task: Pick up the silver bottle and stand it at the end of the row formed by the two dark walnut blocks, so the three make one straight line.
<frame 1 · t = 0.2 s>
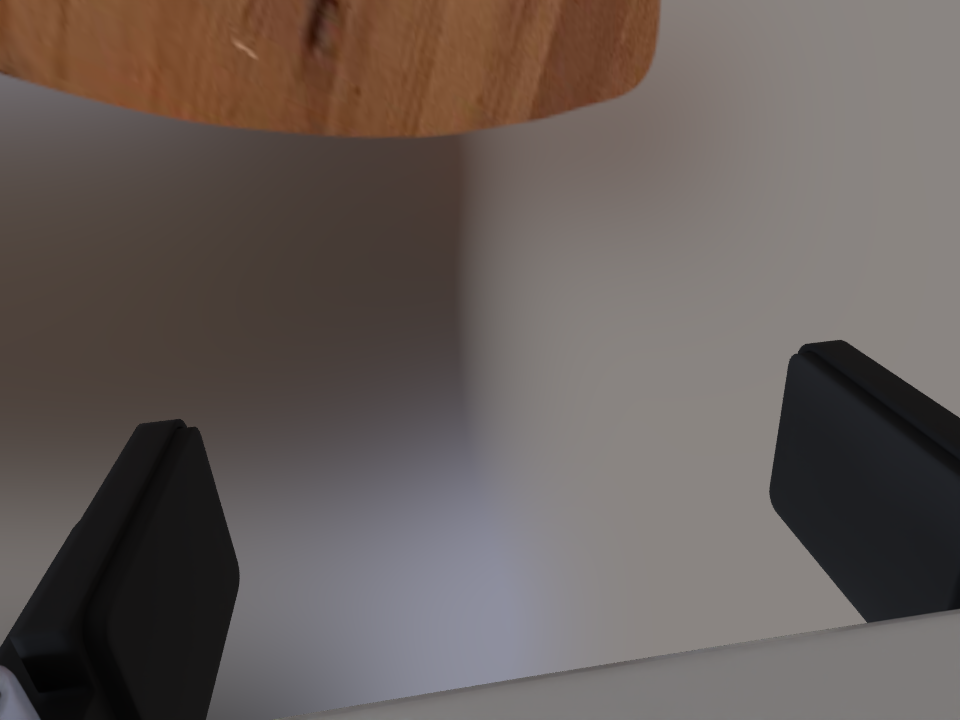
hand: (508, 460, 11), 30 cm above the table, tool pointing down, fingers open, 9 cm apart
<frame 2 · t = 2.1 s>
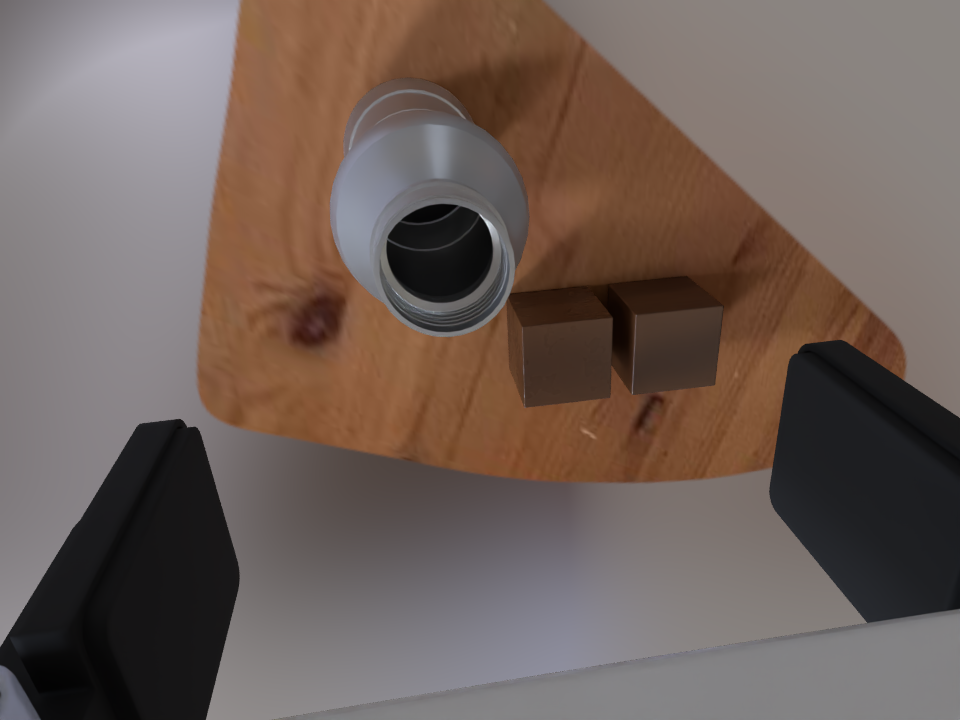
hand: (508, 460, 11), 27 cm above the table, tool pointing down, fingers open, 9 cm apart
silver bottle: (410, 144, 35), on the table
walnut block 1: (547, 328, 40), on the table
walnut block 2: (645, 317, 41), on the table
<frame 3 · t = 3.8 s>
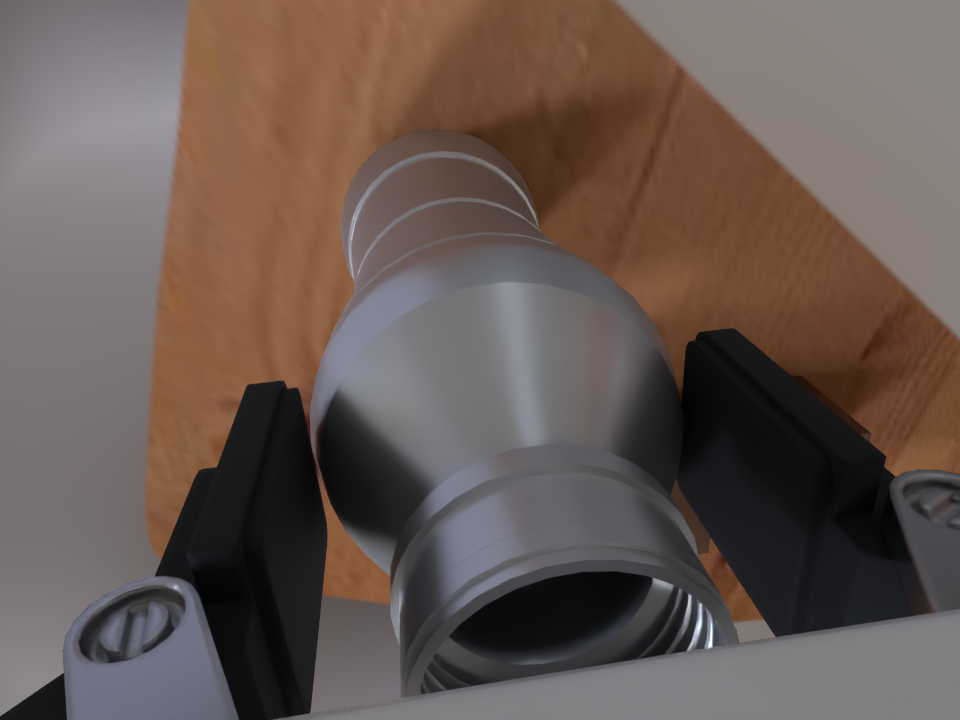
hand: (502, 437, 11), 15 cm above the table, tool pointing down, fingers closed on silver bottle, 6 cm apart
silver bottle: (435, 215, 25), on the table, touching gripper
walnut block 1: (615, 445, 30), on the table
walnut block 2: (743, 428, 31), on the table
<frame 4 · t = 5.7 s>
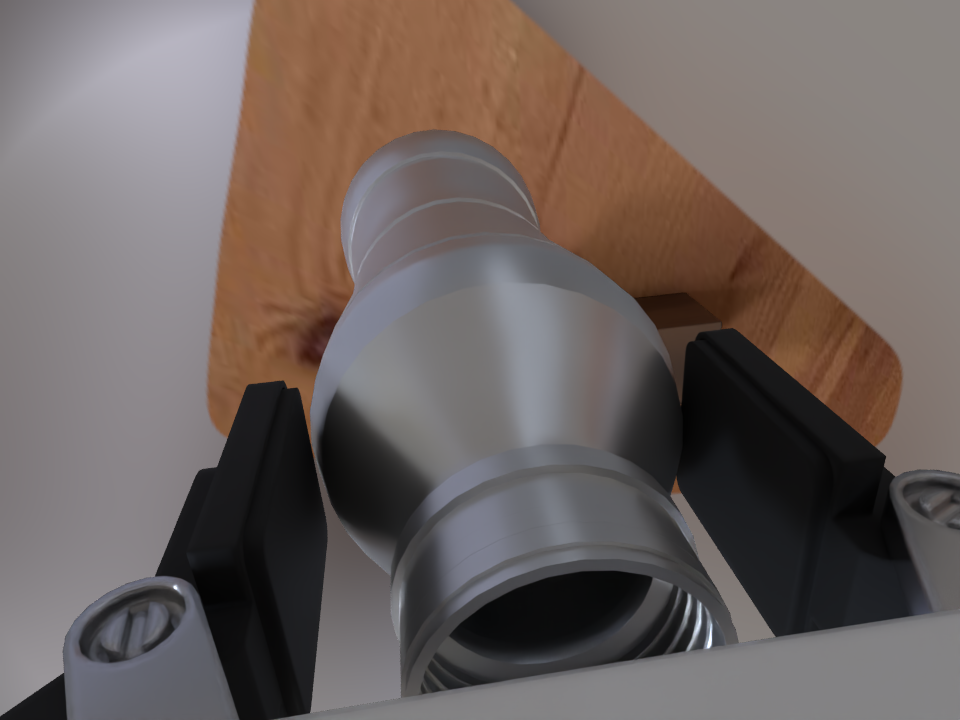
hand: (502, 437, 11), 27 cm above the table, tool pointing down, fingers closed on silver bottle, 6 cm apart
silver bottle: (435, 215, 25), point 12 cm above the table, touching gripper
walnut block 2: (645, 333, 42), on the table
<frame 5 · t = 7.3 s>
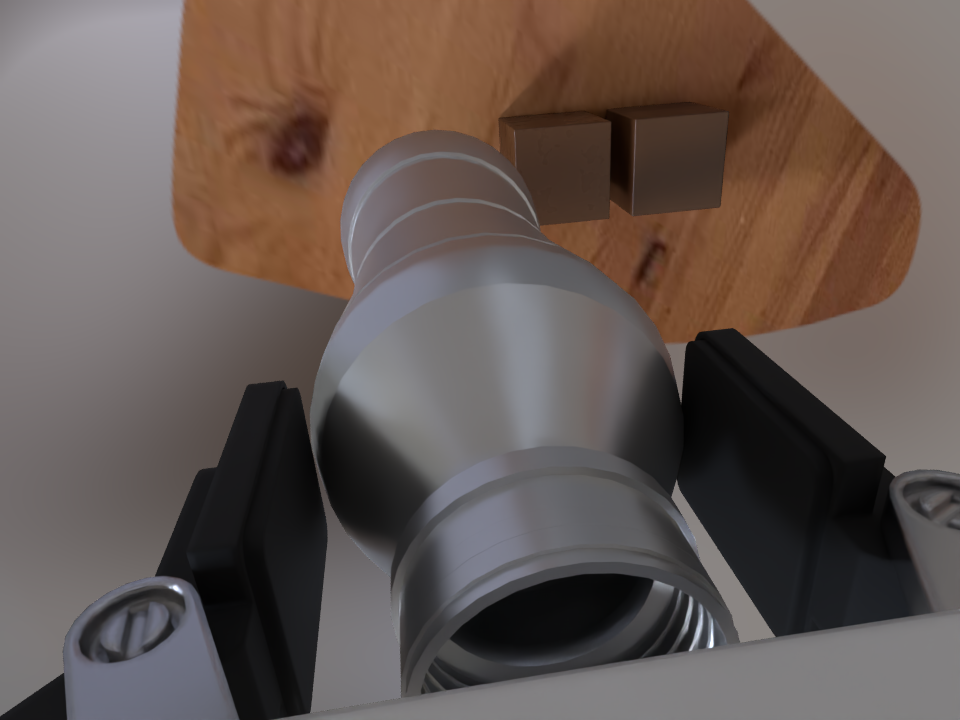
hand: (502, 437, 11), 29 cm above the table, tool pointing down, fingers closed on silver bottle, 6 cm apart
silver bottle: (435, 215, 25), point 14 cm above the table, touching gripper
walnut block 1: (542, 159, 38), on the table
walnut block 2: (646, 150, 39), on the table
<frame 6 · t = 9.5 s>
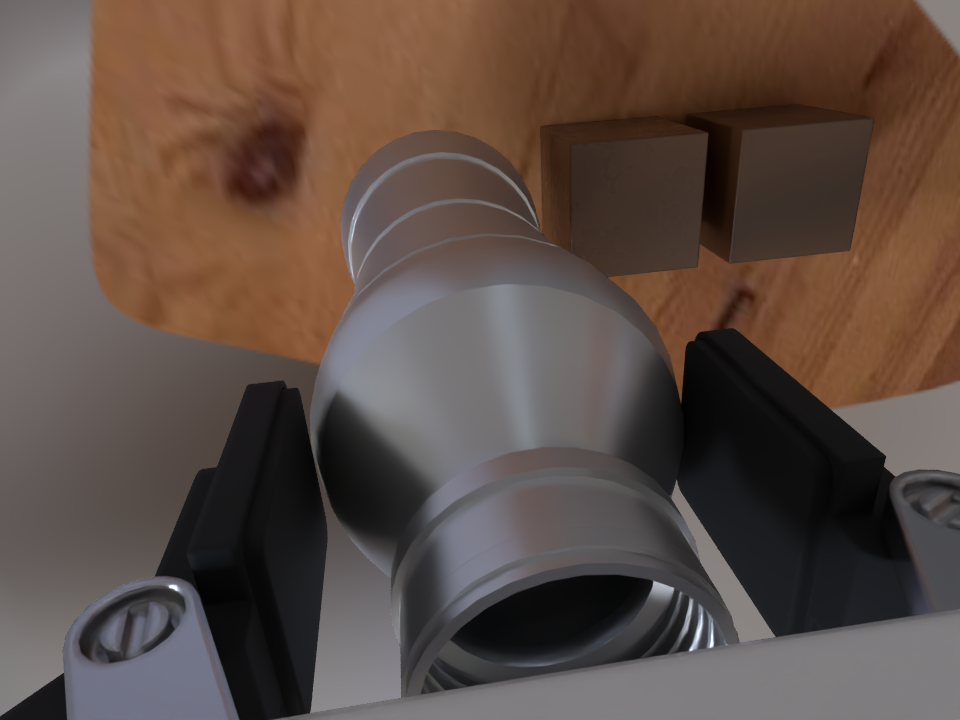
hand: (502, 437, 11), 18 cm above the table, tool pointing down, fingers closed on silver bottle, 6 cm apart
silver bottle: (435, 216, 25), point 3 cm above the table, touching gripper
walnut block 1: (598, 182, 28), on the table
walnut block 2: (737, 168, 29), on the table
when the fingers open (15 cm above the table, at t = 10.8 s): silver bottle stays where it is, on the table.
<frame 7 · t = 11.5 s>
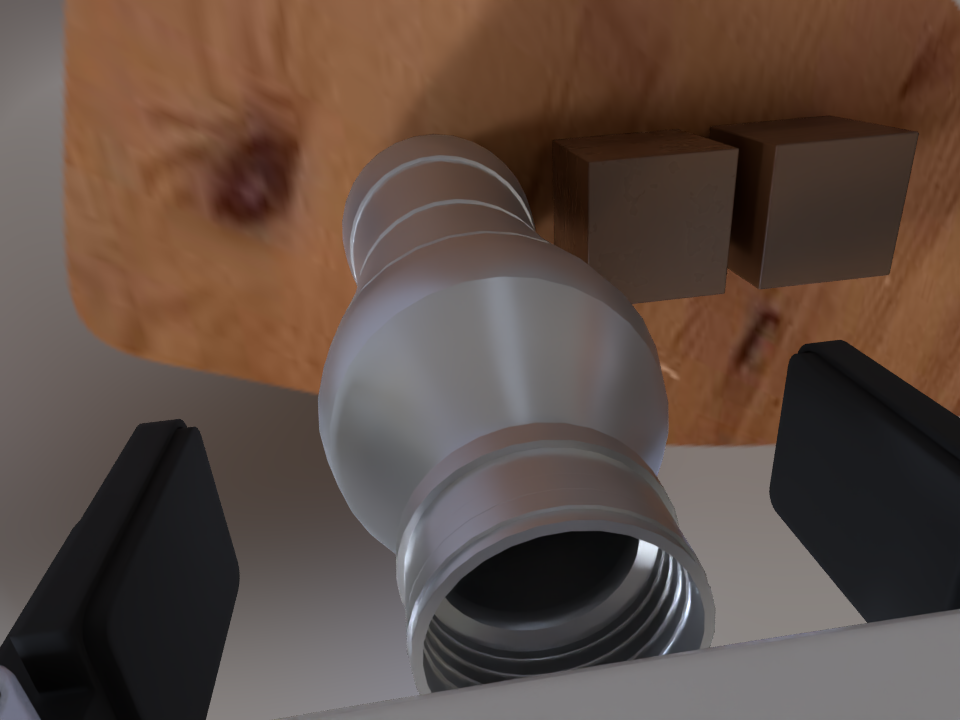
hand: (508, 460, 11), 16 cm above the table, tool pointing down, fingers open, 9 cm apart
silver bottle: (433, 217, 26), on the table
walnut block 1: (614, 199, 26), on the table
walnut block 2: (763, 184, 27), on the table
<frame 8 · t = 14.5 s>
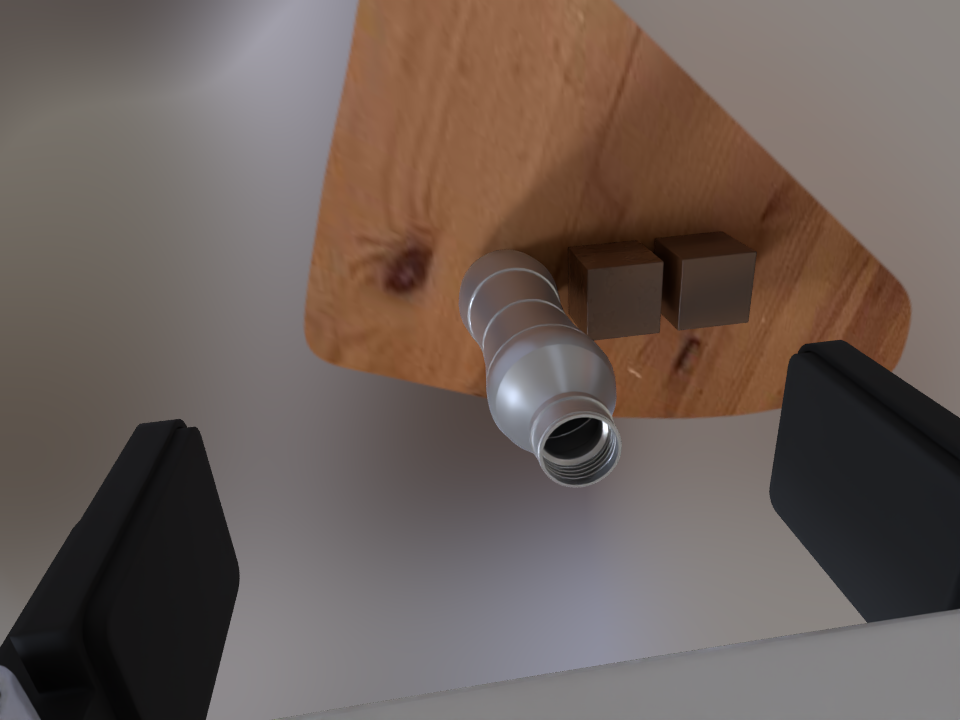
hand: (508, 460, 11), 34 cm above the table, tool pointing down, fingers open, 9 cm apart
silver bottle: (501, 288, 47), on the table
walnut block 1: (602, 277, 47), on the table
walnut block 2: (686, 268, 48), on the table
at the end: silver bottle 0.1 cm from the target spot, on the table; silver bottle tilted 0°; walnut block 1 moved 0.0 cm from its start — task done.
